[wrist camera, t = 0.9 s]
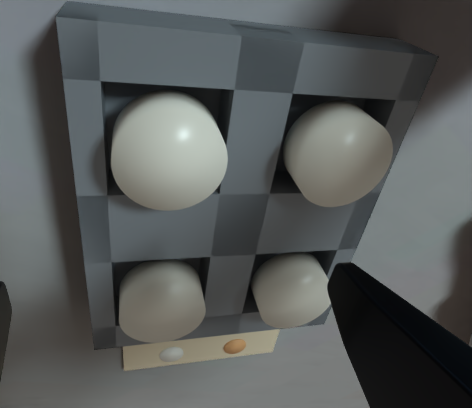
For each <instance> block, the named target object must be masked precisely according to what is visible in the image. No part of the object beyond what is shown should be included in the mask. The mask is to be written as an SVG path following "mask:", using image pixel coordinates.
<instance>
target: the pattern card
mask: <svg viewBox="0 0 472 408" xmlns="http://www.w3.org/2000/svg"><path fill="white" fill-rule="evenodd" d="M279 330H280V329H275V330H267V331H258V332H249V333H240V334H231V335H222V336H213V337H204V338H195V339H186V340H177V341H169V342H161V343H151V344H142V345H133V346H124V347H123V360H124V371H129V370H136V369H144V368H152V367H160V366H167V365H175V364H183V363H191V362H198V361H206V360H214V359H222V358H230V357H237V356H245V355H253V354H261V353H268V352H273V349H274V346H275V343H276V340H277V337H278V333H279Z"/></svg>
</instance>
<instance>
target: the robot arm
mask: <svg viewBox="0 0 472 408" xmlns="http://www.w3.org/2000/svg"><path fill="white" fill-rule="evenodd" d="M327 291H328V295H329V298H330V302H331V305H332V308H333V312H334V315H335V318H336V322H337V325H338V328H339V331H340V335H341V338H342V341H343V344H344V346H345V349H346V351H347V354H348V356H349V359H350V361H351V363H352V366H353V368H354V370H355V373H356V375H357V378H358V380H359V382H360V385H361V387H362V390H363V392H364V394H365V397H366V399H367V402H368V404H369V406H370V408H472V347H470V346H469V345H468V344H466V343H465V342H463V341H462V340H460V339H459V338H458V337H456V336H455V335H453V334H452V333H451V332H449V331H448V330H446V329H445V328H444V327H442V326H441V325H439V324H438V323H437V322H435V321H434V320H432V319H431V318H430V317H428V316H427V315H425V314H424V313H423V312H421V311H420V310H418V309H417V308H415V307H414V306H413V305H411V304H410V303H408V302H407V301H406V300H404V299H403V298H401V297H400V296H399V295H397V294H396V293H394V292H393V291H392V290H390V289H389V288H387V287H386V286H385V285H383V284H382V283H380V282H379V281H378V280H376V279H375V278H373V277H372V276H370V275H369V274H368V273H366V272H365V271H363V270H362V269H361V268H359V267H358V266H356V265H355V264H353V263H351V262H342V263H337V264H336V265H335V267H334V269H333V271H332V274H331V276H330V279H329V281H328V284H327ZM11 314H12V309H11V303H10V300H9V296H8V292H7V289H6V285H5V284H4V282H2V281H0V380H1V375H2V369H3V363H4V357H5V351H6V345H7V339H8V333H9V327H10V321H11Z"/></svg>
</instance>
